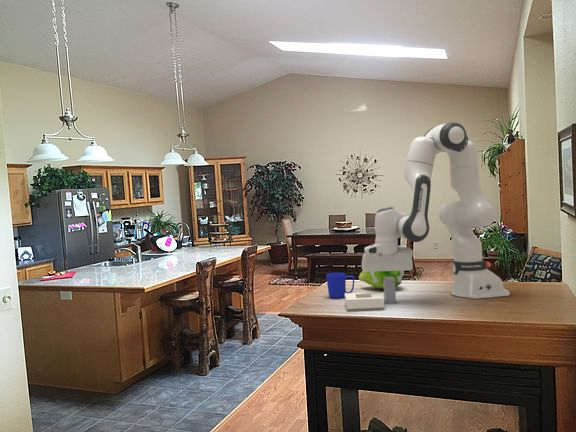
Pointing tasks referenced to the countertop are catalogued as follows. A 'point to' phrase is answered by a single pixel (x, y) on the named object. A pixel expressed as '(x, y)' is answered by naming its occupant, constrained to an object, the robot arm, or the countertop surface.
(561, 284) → the countertop surface
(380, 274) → the lettuce
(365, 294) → the well block
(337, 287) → the mug
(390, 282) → the grey brushed prism
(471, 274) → the robot arm
